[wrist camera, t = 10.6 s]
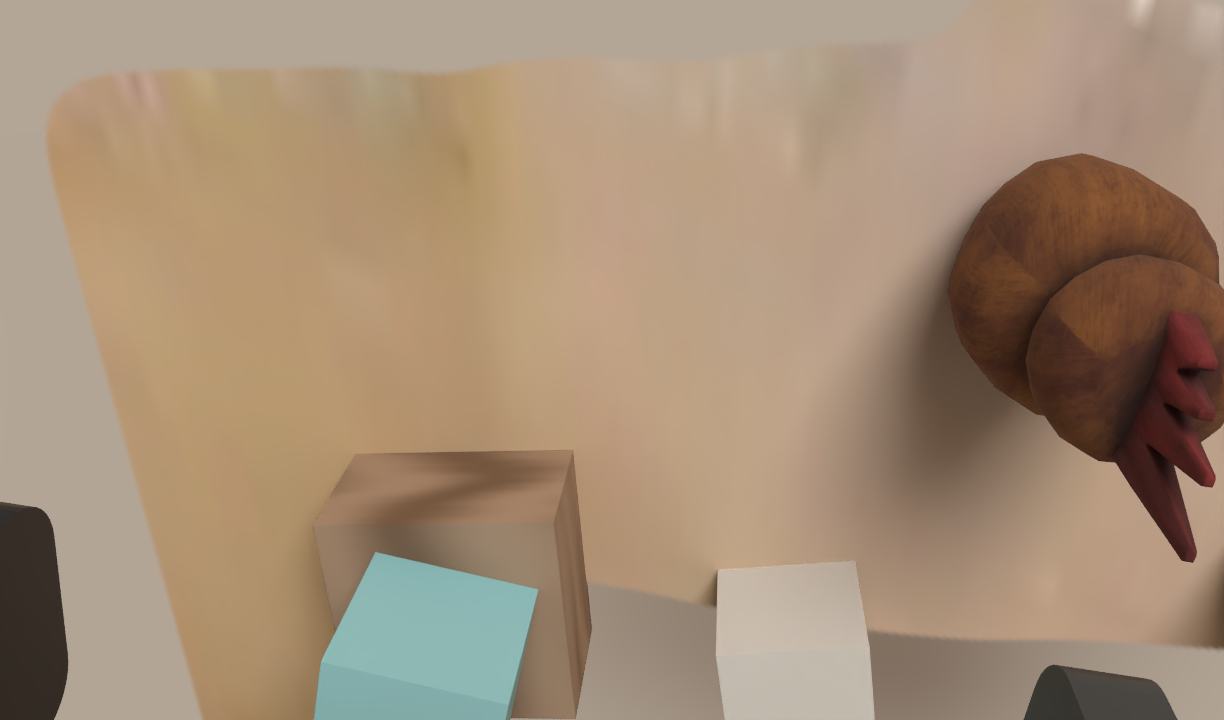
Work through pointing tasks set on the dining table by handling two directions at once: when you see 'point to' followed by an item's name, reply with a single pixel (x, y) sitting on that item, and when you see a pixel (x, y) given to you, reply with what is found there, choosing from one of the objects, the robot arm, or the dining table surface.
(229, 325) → the dining table surface
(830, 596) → the grey cube
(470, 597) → the teal cube
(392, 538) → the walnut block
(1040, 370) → the wooden figurine
